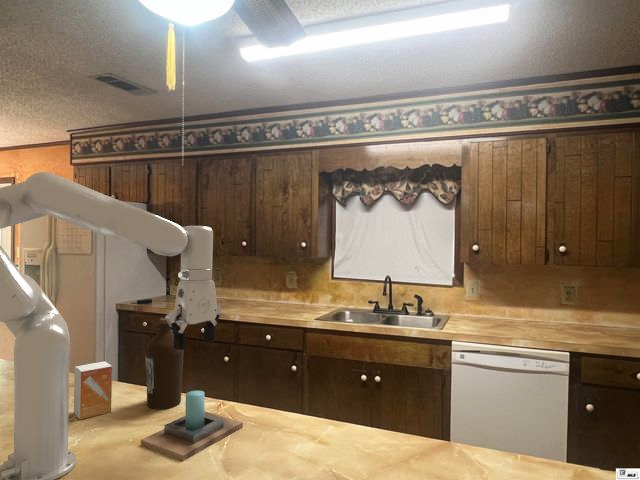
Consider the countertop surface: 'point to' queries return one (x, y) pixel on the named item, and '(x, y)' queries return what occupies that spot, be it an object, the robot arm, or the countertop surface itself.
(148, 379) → the olive oil
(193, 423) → the teal peg
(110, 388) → the small box
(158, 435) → the collar board
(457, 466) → the countertop surface
